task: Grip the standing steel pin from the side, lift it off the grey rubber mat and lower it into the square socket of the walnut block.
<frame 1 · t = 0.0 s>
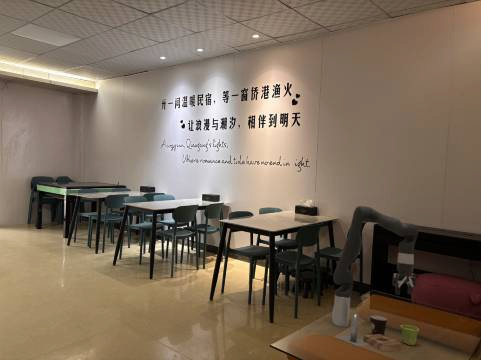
hand: (403, 294, 192), 29 cm above the table, tool pointing down, fingers open, 8 cm apart
socket block: (381, 346, 198), on the table
mat: (353, 341, 202), on the table
steel pin: (353, 341, 201), resting on mat
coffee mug: (377, 335, 217), on the table
plant pot: (408, 344, 207), on the table
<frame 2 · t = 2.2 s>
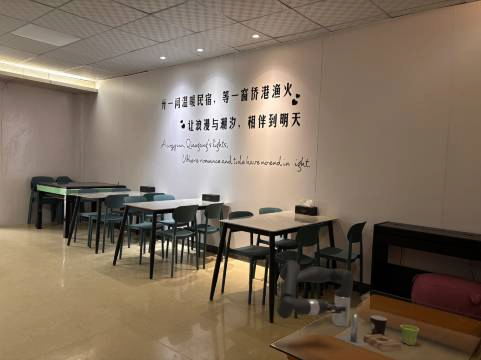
hand: (340, 306, 197), 19 cm above the table, tool horizontal, fingers open, 8 cm apart
nothing on the table moved.
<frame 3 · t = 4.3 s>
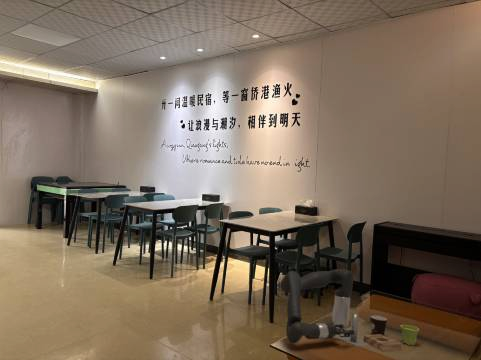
hand: (348, 329, 198), 7 cm above the table, tool horizontal, fingers open, 8 cm apart
nothing on the table moved.
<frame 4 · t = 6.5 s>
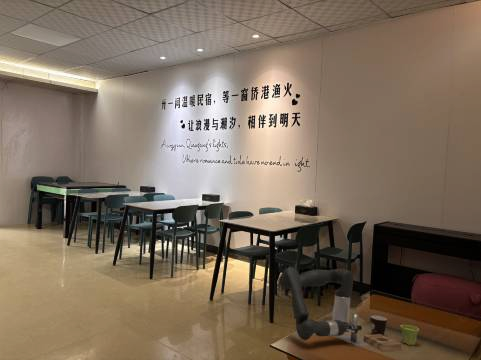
hand: (358, 326, 202), 8 cm above the table, tool horizontal, fingers closed on steel pin, 3 cm apart
steel pin: (353, 341, 201), resting on mat, touching gripper
everything else where it was.
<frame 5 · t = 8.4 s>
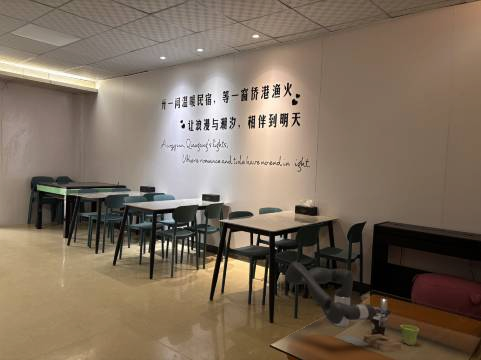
hand: (387, 311, 201), 18 cm above the table, tool horizontal, fingers closed on steel pin, 3 cm apart
steel pin: (382, 326, 199), point 10 cm above the table, touching gripper
everything else where it was.
when the fingers open (9 cm above the table, at t = 10.7 s): steel pin drops 2 cm, resting in socket block.
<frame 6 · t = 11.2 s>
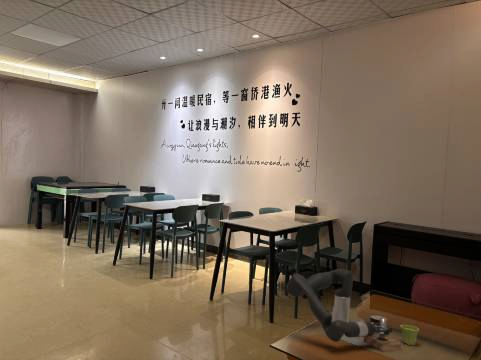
hand: (385, 327, 200), 10 cm above the table, tool horizontal, fingers open, 7 cm apart
steel pin: (381, 346, 198), resting in socket block
everything else where it was.
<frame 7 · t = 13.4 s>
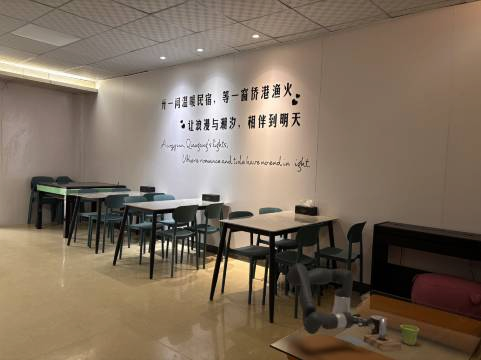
hand: (365, 318, 195), 15 cm above the table, tool horizontal, fingers open, 8 cm apart
nothing on the table moved.
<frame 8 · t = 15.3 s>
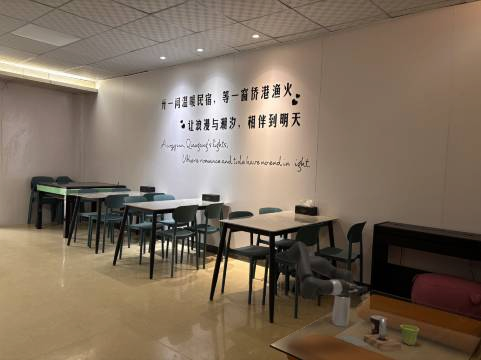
hand: (361, 287, 197), 30 cm above the table, tool horizontal, fingers open, 8 cm apart
nothing on the table moved.
at the end: steel pin 0.1 cm off-centre on the socket block, point 0.0 cm above the socket block's base; steel pin tilted 0°; the gripper is holding nothing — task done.
